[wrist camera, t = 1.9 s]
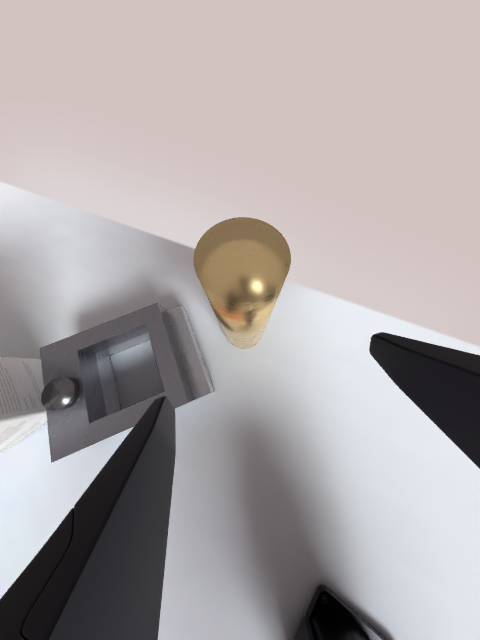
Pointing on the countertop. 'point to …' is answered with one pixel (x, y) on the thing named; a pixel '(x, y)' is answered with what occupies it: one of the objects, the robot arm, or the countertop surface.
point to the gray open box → (98, 378)
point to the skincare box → (20, 399)
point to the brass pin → (242, 275)
